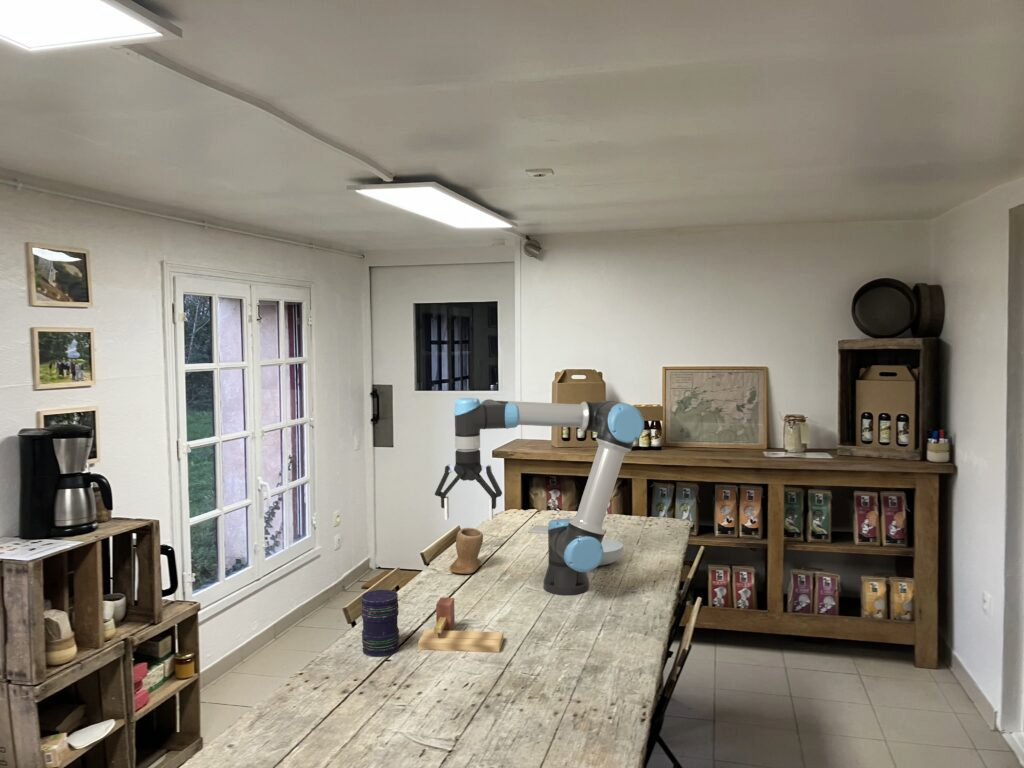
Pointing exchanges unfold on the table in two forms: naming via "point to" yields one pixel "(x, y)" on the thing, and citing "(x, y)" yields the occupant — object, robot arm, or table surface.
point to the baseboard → (542, 529)
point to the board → (461, 641)
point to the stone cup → (467, 551)
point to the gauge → (444, 615)
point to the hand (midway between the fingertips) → (468, 519)
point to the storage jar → (380, 623)
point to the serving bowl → (610, 551)
